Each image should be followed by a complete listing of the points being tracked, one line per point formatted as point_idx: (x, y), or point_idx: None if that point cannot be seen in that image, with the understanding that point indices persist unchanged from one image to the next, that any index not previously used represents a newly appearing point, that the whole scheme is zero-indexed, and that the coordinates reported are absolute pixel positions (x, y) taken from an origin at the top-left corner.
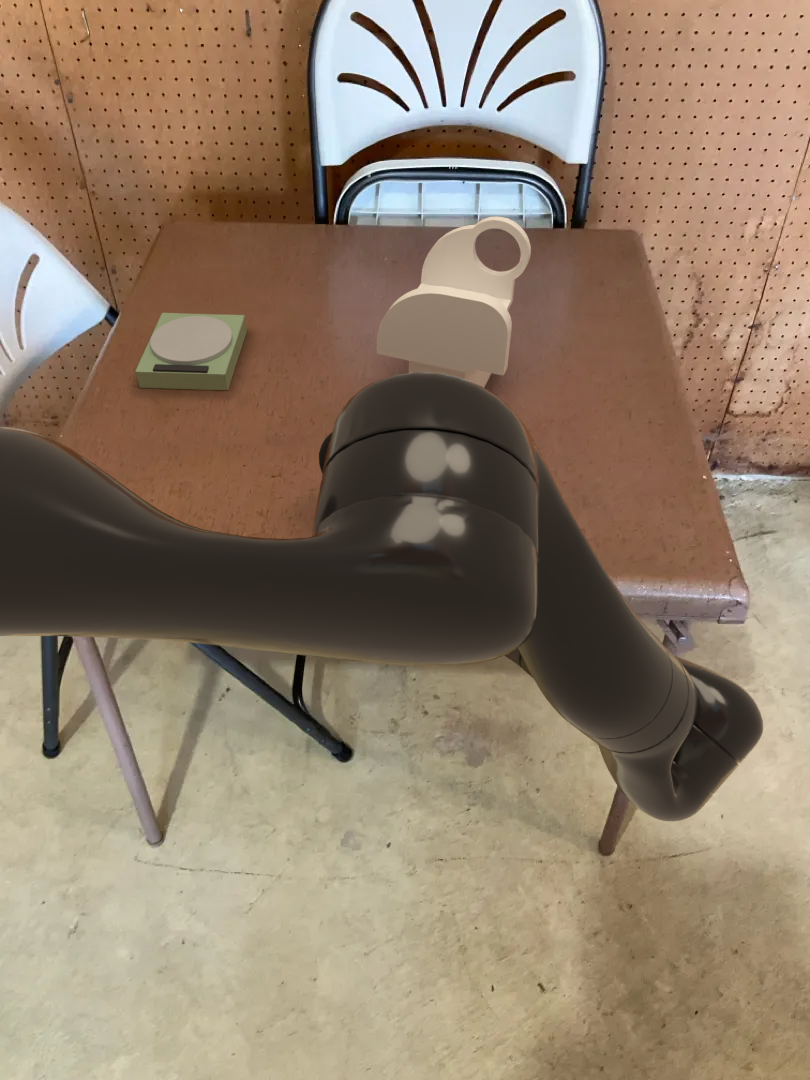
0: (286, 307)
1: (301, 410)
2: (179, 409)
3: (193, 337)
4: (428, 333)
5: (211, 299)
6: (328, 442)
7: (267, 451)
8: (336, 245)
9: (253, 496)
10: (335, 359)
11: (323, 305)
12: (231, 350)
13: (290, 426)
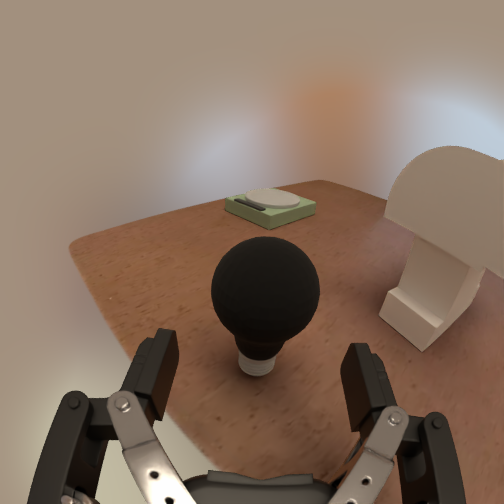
0: (348, 215)
1: None
2: (229, 225)
3: (273, 196)
4: (445, 200)
5: (309, 199)
6: (237, 244)
7: None
8: None
9: (195, 293)
10: (358, 246)
11: (371, 223)
12: (289, 209)
13: None
